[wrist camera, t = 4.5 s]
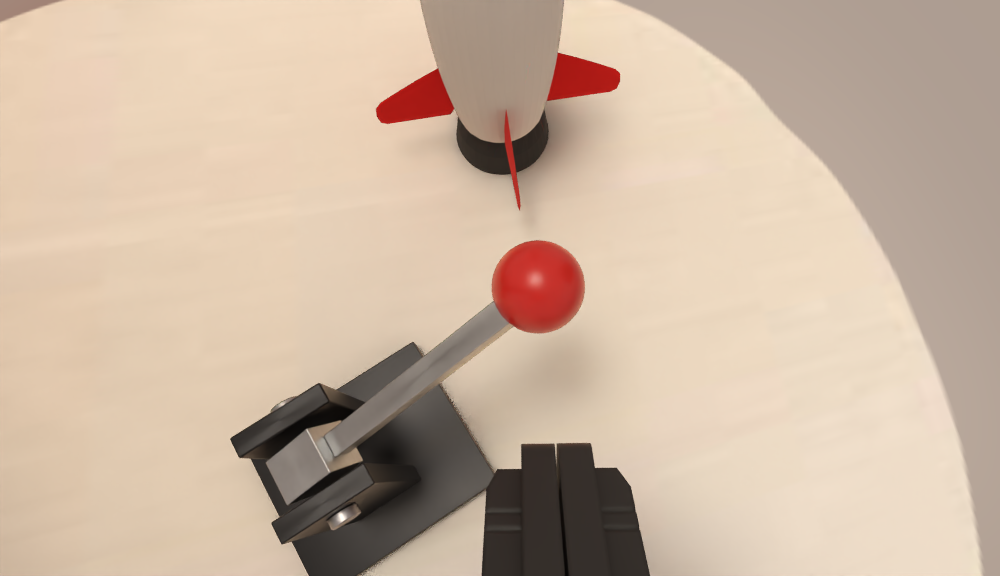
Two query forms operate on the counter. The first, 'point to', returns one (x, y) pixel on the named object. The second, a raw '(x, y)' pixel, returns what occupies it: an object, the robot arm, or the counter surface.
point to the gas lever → (438, 364)
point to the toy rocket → (496, 78)
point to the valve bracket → (370, 471)
